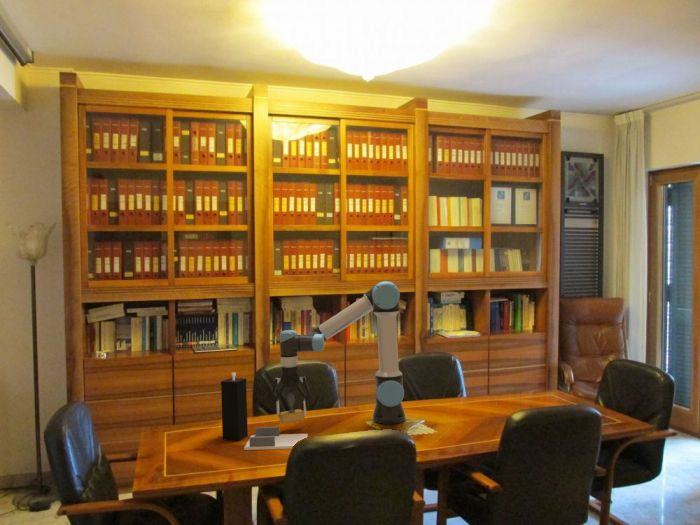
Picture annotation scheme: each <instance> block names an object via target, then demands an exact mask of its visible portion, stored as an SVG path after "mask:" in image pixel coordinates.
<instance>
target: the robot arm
mask: <svg viewBox="0 0 700 525" xmlns="http://www.w3.org/2000/svg"><path fill="white" fill-rule="evenodd" d="M400 292H401V291H400V289H399V288H398V286H397V285H396V284H395V283H394V282H393V281H388V280H381V281H379V282H376V284H374V286H373V287H371V288H370V289H369V290H367V291H366V292H365V293H363V296H362V297H361V298H359V299H358V300H356V301H355V302H353V303H352V304H350V305H349V306H347V307H346V308H344V309H342V310H340V312H338V313H337V314H335V315H333V316H332V317H330V318H329V319H327V320H326V321H324V322H322V323H321V324H319V325H318V326H317V327H315V328H314V329H311V330H309V331H308V332H306V334H298V333H297V331H296V330H283V331H281V332H279V352H280V366H281V367H280V373H281V374H280V375H281V376H280V377H275V378H274V380H273V382H274V383H273V384H274V385H273V388H272V390H271V393H270V397H269V401H272V402H273V406H274V407H273V408H274V410H276V417H277V418H279V413H280V400H278V399H279V398H280V396H281V394H282V393H283V391H284V389H285V388H286V389H287V388H295V389H297V391H298V393H299V394H300V395H301V397H302V398H303V411H304V416H305V417H306V416H307V409H308V408H309V400H310V399H312V398H313V394H312V393H311V390H310V387H309V385H308V382H307V377H306V376H299V366H298V364H299V360H298V359H299V358H298V356H299V355H298V353H301V352H302V353H304V352H306V353H307V352H315V353H317V352H322V351H324V350H325V342H326V341H328V340H329V339H331V338H332V337H333V336H335V335H336V334H338V333H340V332H341V331H343V330H344V329H347V327H349V326H351V325H352V324H353V323H355V322H357V321H358V320H360V319H361V318H363V317H364V316H367V314H369V313H371V312H373V314H374V315H375V316H376V325H377V326H376V327H377V346H378V347H377V353H378V370H377V371H375V375H374V380H375V406H374V409H373V413H372V422H374V421H375V422H374V423H376V422H379V423H378V424H380V423H383V424H382V425H396V424H397V425H398V424H402V423H404V422H405V421H406V412H405V410H404V408H403V405H402V401H403V399H404V397H405V389H404V384H403V383H404V382H403V380H404V379H403V372H402V371H400V369H399V351H398V350H399V347H398V325H397V323H398V322H397V316H398V314H399V313H400V311H401V310H400V298H401V293H400ZM299 381H300V382H301V383H302V385H303V387H304V389H305V390H303V388H302V387H301V385H300V384H299ZM280 382H281V383H282V386H281V388H280V389H279V391H278V393H277V394H276V391H277V388H278V384H279V383H280ZM275 394H276V396H275ZM403 421H404V422H403Z"/></svg>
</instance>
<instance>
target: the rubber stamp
mask: <svg viewBox="0 0 700 525" xmlns="http://www.w3.org/2000/svg"><path fill="white" fill-rule="evenodd" d="M295 396H296V395H295V394H294V393H292V392H290V393H288V394H287V397H286V398H287V403H288V406H289V410H287V411H281V412H280V411H279V412H280V413H279V417H278V419H279V422H280V423H281V424H289V423H290V424H291V423H296V422H301V421H305V417H306V416H304V410H303V409H300V408H299V409H294V405H295V401H296V397H295Z"/></svg>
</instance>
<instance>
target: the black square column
mask: <svg viewBox="0 0 700 525" xmlns="http://www.w3.org/2000/svg"><path fill="white" fill-rule="evenodd" d="M236 375H237V372H234V371H233V372H231V377H230V378H226V379H224V380H222V381H220V388H221V389H220V390H221V392H220V393H221V394H220V395H221V396H220V397H221V422H222V424H221V426H222V428H221V429H222V430H221V431H222V432H221V433H222V441H223V440H224V441H232V442H240V441H241V440H243V439H244V438H246V437H248V436H249V435H248V430H249V429H248V399H247V398H248V396H247V390H248V389H247V378H245V377H244V378H242V377H240V378H239V377H236Z"/></svg>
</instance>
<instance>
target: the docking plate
mask: <svg viewBox="0 0 700 525" xmlns="http://www.w3.org/2000/svg"><path fill="white" fill-rule="evenodd" d="M254 431H255V434H252V435H250V437H249V439H248V440H247V442H246V443H245V446H244V447H243V448H244V449H243V450H244V451H256V450H257V451H260V450H262V451H263V450H264V451H265V450H290V449H291V450H293V449H292V447H293V446H294V445H295V444H296V443H297V442H298V441H300V440H302V439H304V438H307V437H309V433H292V434H291V433H290V434H289V433H288V434H287V433H284V434H280V427H279V426H260V427H259V426H258V427H257V426H256V427H255V430H254ZM307 439H308V438H307Z"/></svg>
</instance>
